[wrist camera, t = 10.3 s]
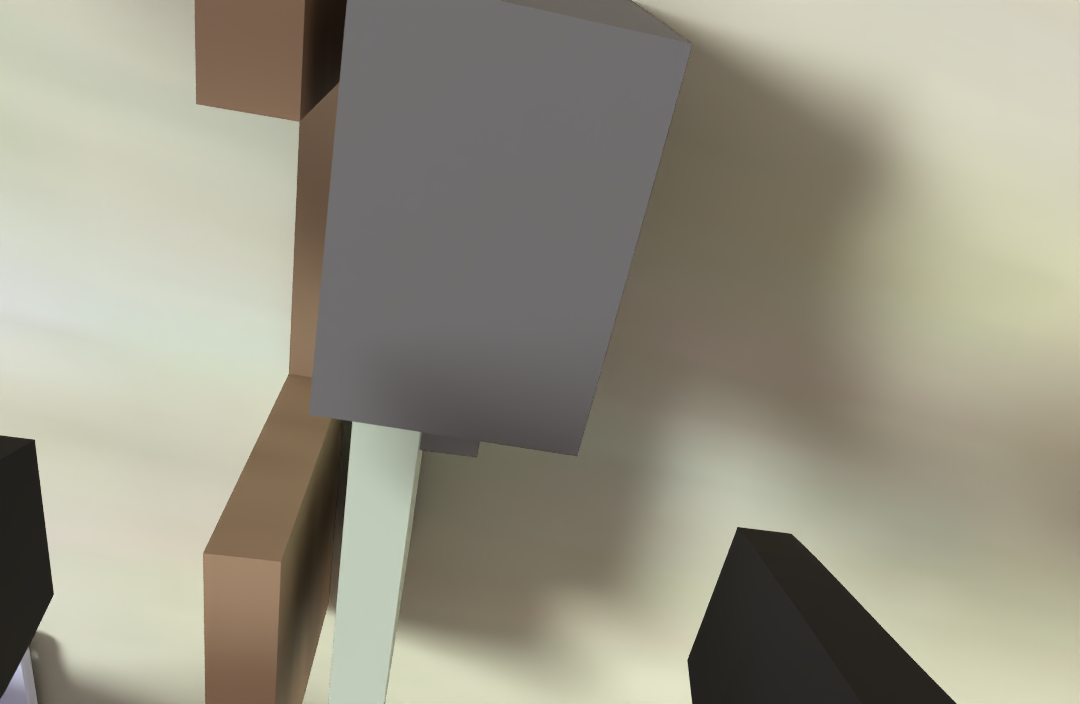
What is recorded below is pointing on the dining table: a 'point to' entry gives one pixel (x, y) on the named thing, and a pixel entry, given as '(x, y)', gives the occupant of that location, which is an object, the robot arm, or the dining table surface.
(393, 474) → the door
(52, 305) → the dining table surface
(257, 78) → the wall
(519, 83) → the block
